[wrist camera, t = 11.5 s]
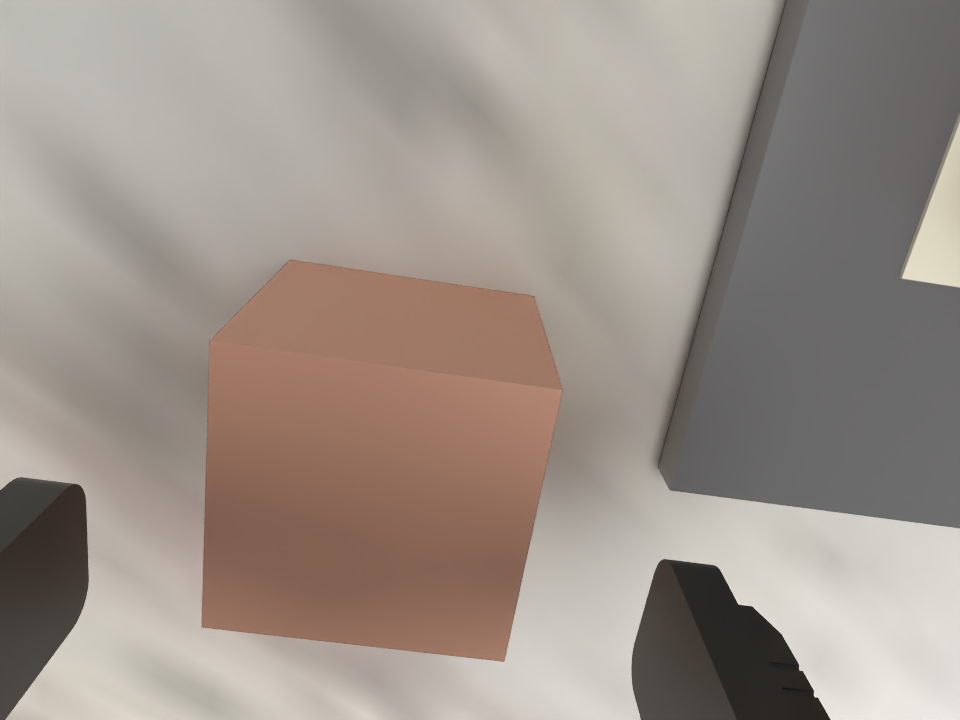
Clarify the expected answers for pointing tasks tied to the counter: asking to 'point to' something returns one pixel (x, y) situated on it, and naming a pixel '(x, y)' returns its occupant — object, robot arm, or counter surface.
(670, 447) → the grey flat slab
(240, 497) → the terracotta block
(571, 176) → the counter surface
